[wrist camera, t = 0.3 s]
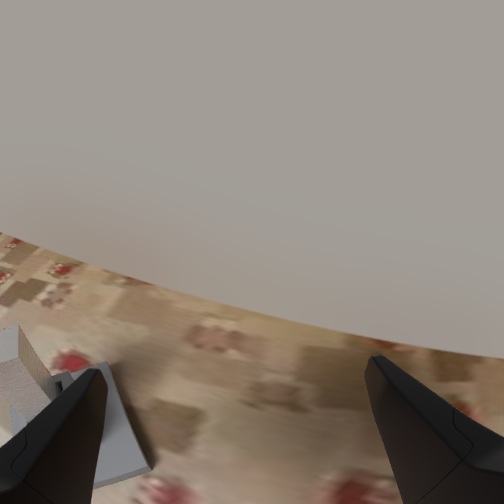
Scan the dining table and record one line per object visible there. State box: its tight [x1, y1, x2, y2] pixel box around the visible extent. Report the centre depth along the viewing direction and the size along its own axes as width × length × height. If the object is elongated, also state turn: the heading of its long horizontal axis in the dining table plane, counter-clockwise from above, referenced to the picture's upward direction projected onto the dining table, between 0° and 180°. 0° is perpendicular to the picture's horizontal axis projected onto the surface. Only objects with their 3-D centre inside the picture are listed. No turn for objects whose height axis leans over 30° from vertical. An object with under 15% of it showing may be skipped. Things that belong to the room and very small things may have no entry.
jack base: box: [10, 361, 152, 489], centre depth 19 cm, size 12×12×6 cm
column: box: [0, 324, 62, 423], centre depth 18 cm, size 4×3×10 cm
